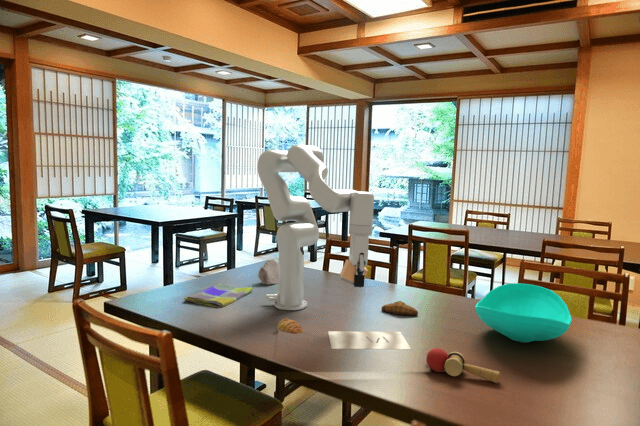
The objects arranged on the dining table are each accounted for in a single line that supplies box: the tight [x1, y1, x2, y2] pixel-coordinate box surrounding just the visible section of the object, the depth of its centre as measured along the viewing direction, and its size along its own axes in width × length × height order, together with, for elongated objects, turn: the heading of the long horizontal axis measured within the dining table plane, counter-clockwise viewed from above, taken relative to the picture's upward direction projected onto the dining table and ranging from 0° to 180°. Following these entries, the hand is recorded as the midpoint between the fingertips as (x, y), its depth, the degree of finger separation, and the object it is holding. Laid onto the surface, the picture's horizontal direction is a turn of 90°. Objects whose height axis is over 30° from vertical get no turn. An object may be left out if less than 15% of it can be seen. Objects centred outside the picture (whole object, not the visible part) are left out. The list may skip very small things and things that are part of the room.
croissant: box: [381, 300, 419, 317], centre depth 159 cm, size 14×7×5 cm, turn 70°
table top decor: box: [474, 282, 573, 343], centre depth 138 cm, size 40×28×13 cm
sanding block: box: [338, 259, 369, 288], centre depth 141 cm, size 7×5×6 cm
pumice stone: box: [258, 259, 279, 286], centre depth 196 cm, size 15×8×10 cm, turn 144°
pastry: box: [276, 318, 304, 335], centre depth 137 cm, size 9×7×4 cm
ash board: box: [327, 330, 412, 350], centre depth 130 cm, size 23×13×2 cm, turn 93°
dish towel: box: [184, 282, 254, 309], centre depth 172 cm, size 18×24×3 cm
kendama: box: [425, 347, 500, 384], centre depth 112 cm, size 8×6×18 cm
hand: (357, 283), depth 142 cm, fingers closed on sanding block, 5 cm apart
